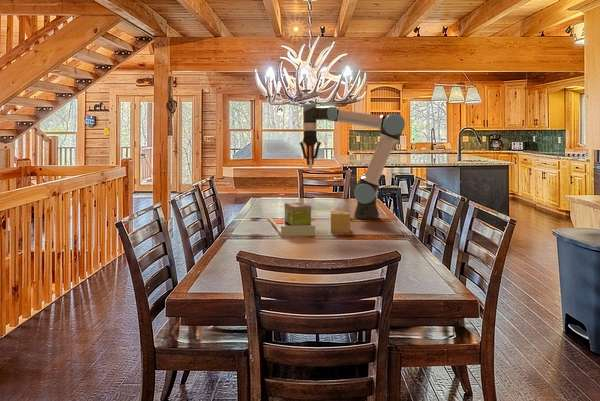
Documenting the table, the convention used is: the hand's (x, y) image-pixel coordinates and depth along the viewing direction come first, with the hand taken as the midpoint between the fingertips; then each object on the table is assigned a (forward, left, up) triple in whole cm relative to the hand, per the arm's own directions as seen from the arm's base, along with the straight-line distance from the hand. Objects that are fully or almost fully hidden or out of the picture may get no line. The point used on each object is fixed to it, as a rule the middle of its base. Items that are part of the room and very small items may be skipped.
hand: (310, 170), depth 306 cm
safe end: (+17, +45, -29) cm, 56 cm away
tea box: (+15, +42, -29) cm, 54 cm away
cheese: (-7, +42, -29) cm, 52 cm away
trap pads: (+17, +8, -29) cm, 34 cm away
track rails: (+17, +19, -29) cm, 39 cm away
